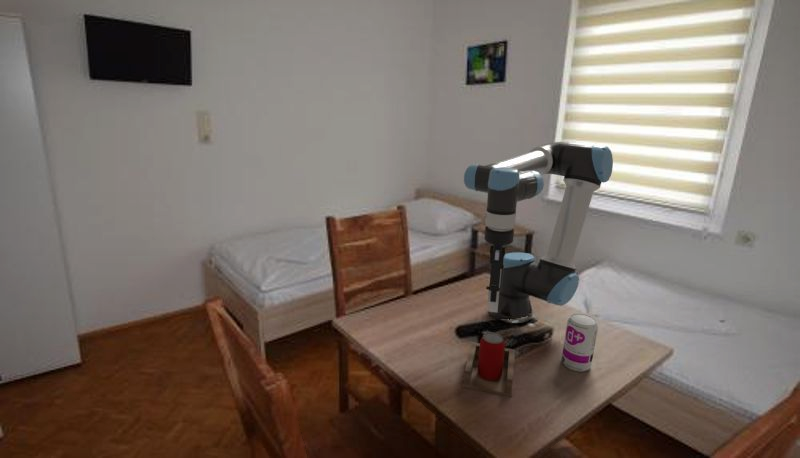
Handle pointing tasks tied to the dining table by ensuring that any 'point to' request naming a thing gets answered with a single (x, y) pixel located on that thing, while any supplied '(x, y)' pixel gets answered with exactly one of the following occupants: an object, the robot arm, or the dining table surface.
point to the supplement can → (579, 342)
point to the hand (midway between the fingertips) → (493, 300)
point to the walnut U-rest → (493, 386)
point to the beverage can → (491, 356)
